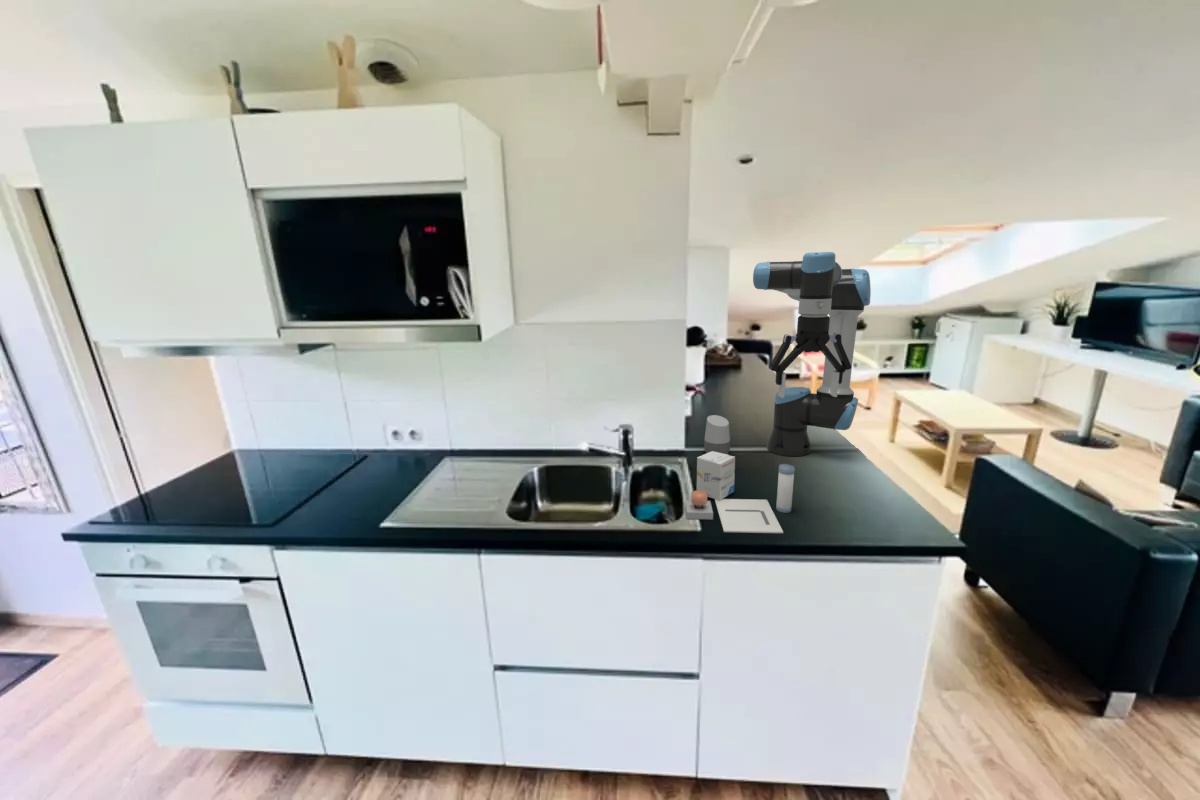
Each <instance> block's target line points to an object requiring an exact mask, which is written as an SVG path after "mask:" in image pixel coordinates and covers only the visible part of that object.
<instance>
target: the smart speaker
mask: <svg viewBox="0 0 1200 800" xmlns="http://www.w3.org/2000/svg"><path fill="white" fill-rule="evenodd" d="M705 424H706V425H705V432H704V433H705V434H704V439H703V440H704V442H703V448H704V452H705V454H706V453H709V452H711V451H714V452H718V453H723V454H727V455H729V452H730V449H731V433H730V422H729V420H728V419H727V418H726V417H723V416H722V415H716V414H711V415H708V416H707V417H706V423H705Z"/></svg>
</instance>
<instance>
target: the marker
mask: <svg viewBox="0 0 1200 800" xmlns="http://www.w3.org/2000/svg"><path fill="white" fill-rule="evenodd" d="M795 471H796V468H795V466H794V465H792V464H789V463H782V464H779V465H778V476H777V477H778V479H777V490H776V491H777V492H776V506H775V507H776V508H775V510H776V511H777V512H780V513H783V514H784V513H785V514H787V513H791V512H792V503H793V495H794V494H793V492H794V491H793V490H794V480H795V473H796V472H795Z"/></svg>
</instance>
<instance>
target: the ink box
mask: <svg viewBox="0 0 1200 800" xmlns="http://www.w3.org/2000/svg"><path fill="white" fill-rule="evenodd" d="M735 470H736V456H735V455H734V456H732V455H730V454H723V453H718V452H714V451H711V452H709V453H706V452H705V453H704V454H702V455H700V456H697V457H696V491H697V490H700V491H704V492H706V493H707V498H710V499H713V500H715V499H717V500H722V499H726V497H728V496H729V495H731V494H733V493H735V476H736V473H735V472H736V471H735Z"/></svg>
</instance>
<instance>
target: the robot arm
mask: <svg viewBox="0 0 1200 800" xmlns="http://www.w3.org/2000/svg"><path fill="white" fill-rule="evenodd" d="M752 282H753V286H754V288H755V289H757V290H764V291H766V290H770V291H772V290H773V291H777V292H780V293H784V294H786V295H787V296H788V297H789V298H790V299H792V300H795V301H798V311H797V313H798V315H799V316H798V317H797V325H796V334H795V335H789V334H784V336H783V339H782V343H781V345H780V346H779V348H778V350H777V352H776V354H775V355H774V357H773V358H772V361H771V362H770V364H769V366H768V367H769V369H770V370H771V371H772V372H775V384H776V385H778V390H777V392H776V393H775V396H774V397H775V398H774V399H775V401H774V404H773V405H774V408H773V409H774V410H773V427H772V430H771V433H770V434H769V437H768V440H767V443H766V449H767V450H768V451H769V452H771V453H774V454H776V455H780V456H785V457H804V456H806V455H809V454H810V453H811V449H812V448H811V446H812V444H811V440H810V438H809V433H808V426H810V427H816V428H817V427H818V428H825V429H830V430H834V431H835V430H839V431H847V430H849V429H850V428H851V426H852V424H853V420H854V418H855V414H856V411H857V408H858V402H859V398H857V397H856V396H854V394H855V392H854V390H853V389H852V388H851V380H852V379H851V378H852V370H853V363H854V362H853V360H854V353H855V346H856V345H855V343H856V335H857V326H858V317H859V316H861V314H862V313H863V312H864V311H865V307H867V306H869V305H870V304H871V297H872V296H871V294H872V293H871V291H872V290H871V277H870V274H869V272H868V271H867V269H863V268H862V269H861V268H844V269H843V268H842V267H841V265H840V264H839V263H838V262H837V261H836V253H835V252H833V251H820V252H819V251H818V252H817V251H815V252H806V253H804V254H803V256H802V260H797V261H795V260H794V261H765V262H758V263H757V264H756V265H755V267H754V269H753V274H752ZM828 315H829V316H828ZM794 341H795V343H796V345H795V346H794V347H793V348H792V351H791V352H790V353H789V354H787V355H786V353H787V352H788V350H789V348H790V346H791V344H793V343H794ZM803 352H805V353H812V352H813V353H819V352H821V353H822V354H823V355H824V363H823V365H824V366H823V373H822V375H823V376H822V384H821V385H820V386H819V387H818V388H817V389H816V393H814V392H812V393H811V389H810V388H809V387H806V386H805V387H803V386H792V387H786V378H787V374H786V372H785V371H786V369H787V368H789V366H790V365H791V364H792V363H793V362H794V361H795V360H796V359H797V358H798V356H799V355H801V354H803ZM785 355H786V357H785ZM784 357H785V358H784ZM783 358H784V359H783Z"/></svg>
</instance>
